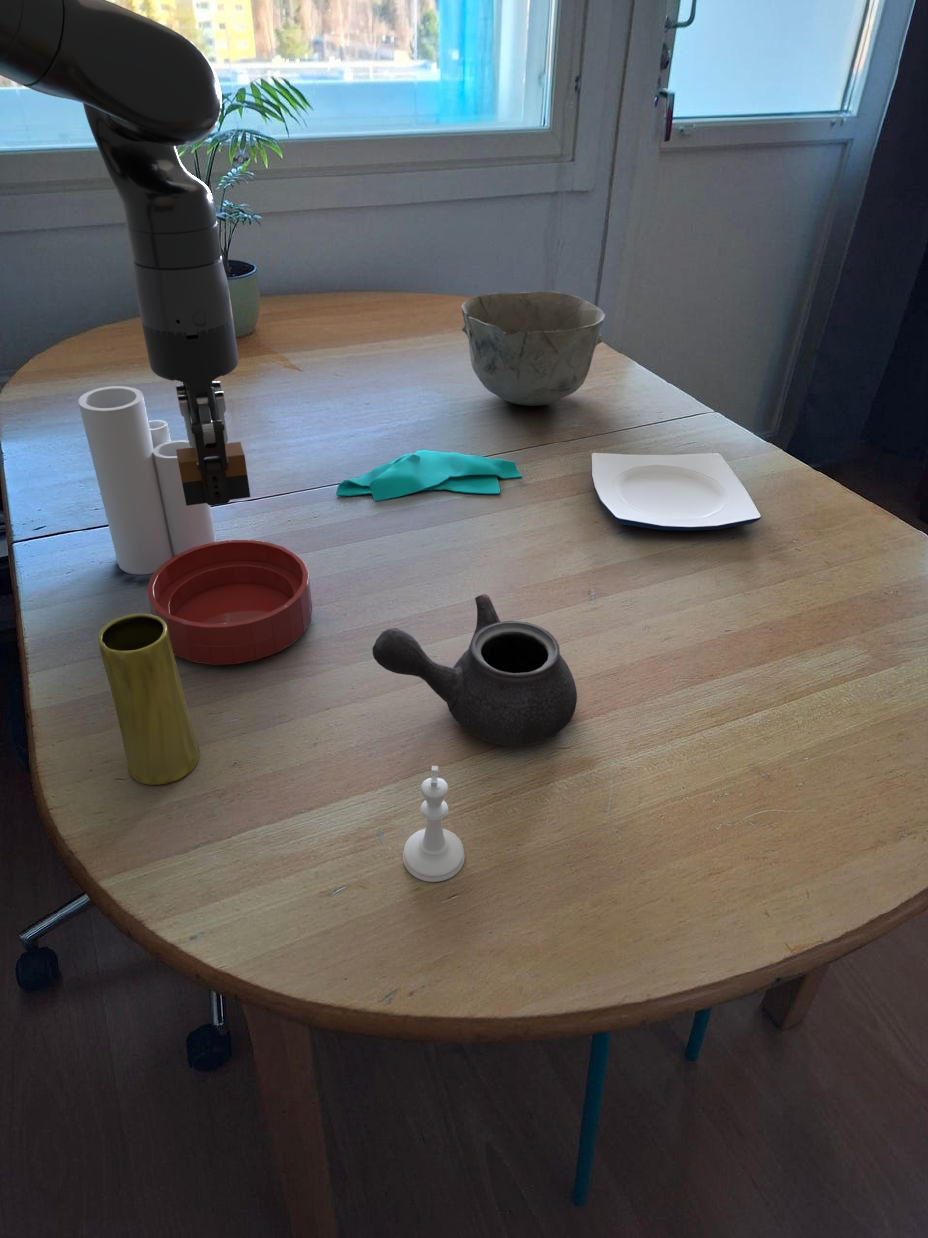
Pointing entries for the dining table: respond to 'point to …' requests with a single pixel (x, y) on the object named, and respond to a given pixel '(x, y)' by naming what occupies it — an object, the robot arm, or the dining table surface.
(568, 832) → the dining table surface
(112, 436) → the vase
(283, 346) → the dining table surface
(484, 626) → the teapot
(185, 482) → the eraser
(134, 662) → the vase
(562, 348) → the bowl
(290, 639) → the red bowl
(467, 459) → the cloth
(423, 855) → the chess piece
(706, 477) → the plate
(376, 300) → the dining table surface
